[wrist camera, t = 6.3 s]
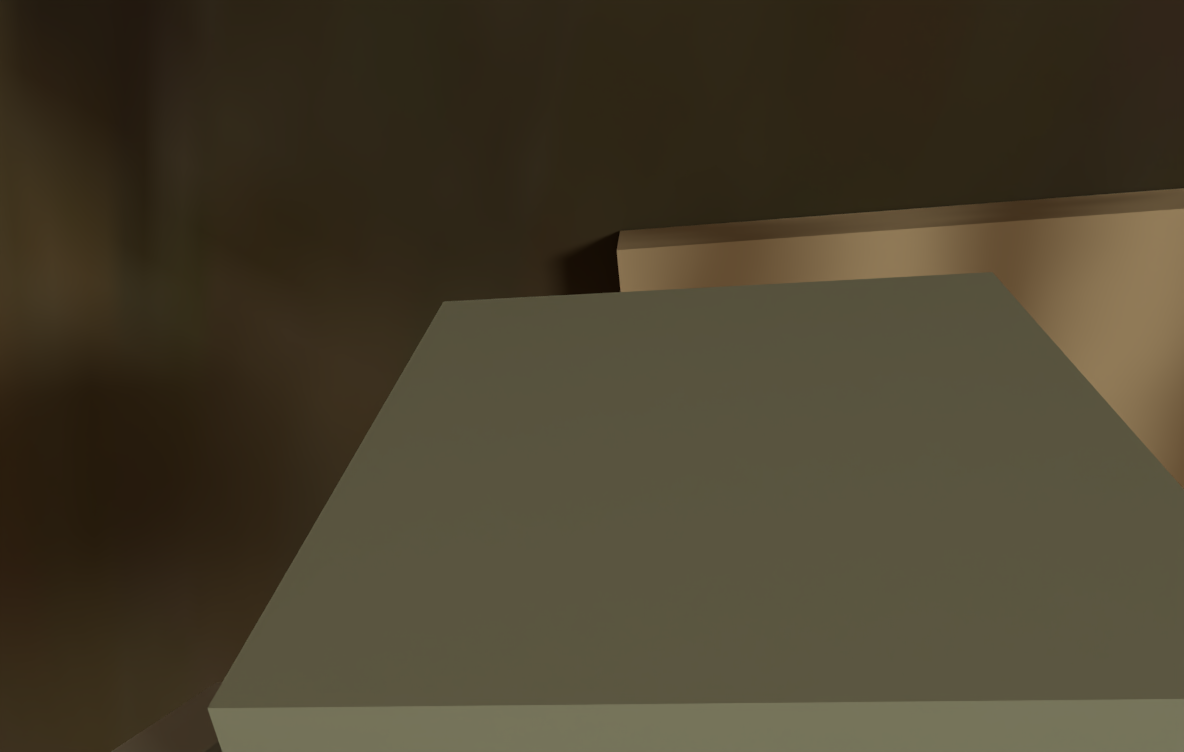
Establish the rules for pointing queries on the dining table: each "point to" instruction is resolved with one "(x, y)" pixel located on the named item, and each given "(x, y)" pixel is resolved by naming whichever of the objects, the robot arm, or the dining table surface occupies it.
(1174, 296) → the post board
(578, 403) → the sage green cube
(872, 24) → the dining table surface
